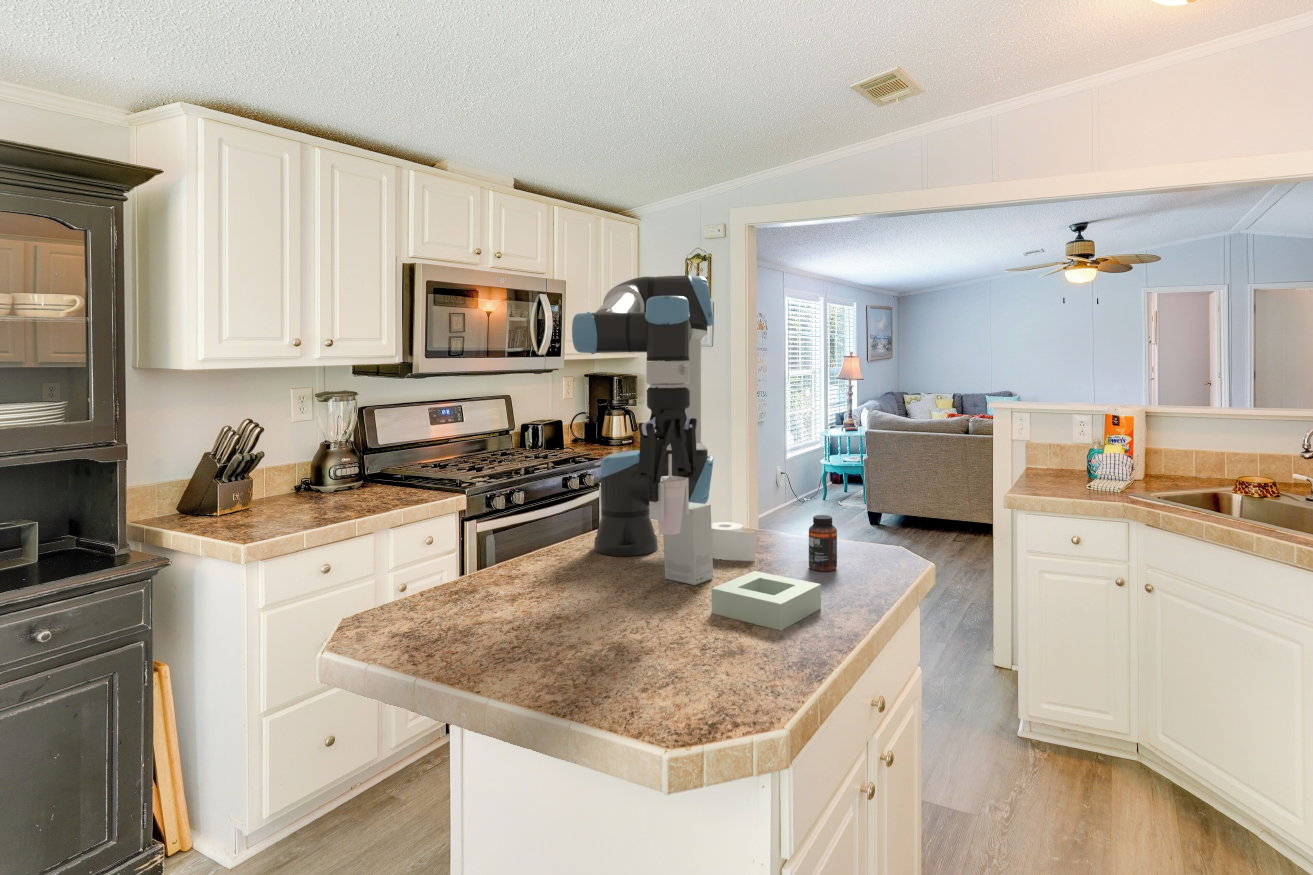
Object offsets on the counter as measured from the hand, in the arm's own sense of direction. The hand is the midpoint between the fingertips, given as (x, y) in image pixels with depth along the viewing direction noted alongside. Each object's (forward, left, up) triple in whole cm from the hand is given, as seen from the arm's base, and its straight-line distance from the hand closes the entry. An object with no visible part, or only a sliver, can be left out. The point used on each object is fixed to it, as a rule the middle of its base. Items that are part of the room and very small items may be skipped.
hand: (669, 515), depth 132 cm
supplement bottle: (+9, +41, -17) cm, 45 cm away
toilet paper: (-12, +37, -17) cm, 42 cm away
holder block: (+14, +10, -17) cm, 24 cm away
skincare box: (-9, +17, -17) cm, 26 cm away
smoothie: (0, 0, -3) cm, 3 cm away
